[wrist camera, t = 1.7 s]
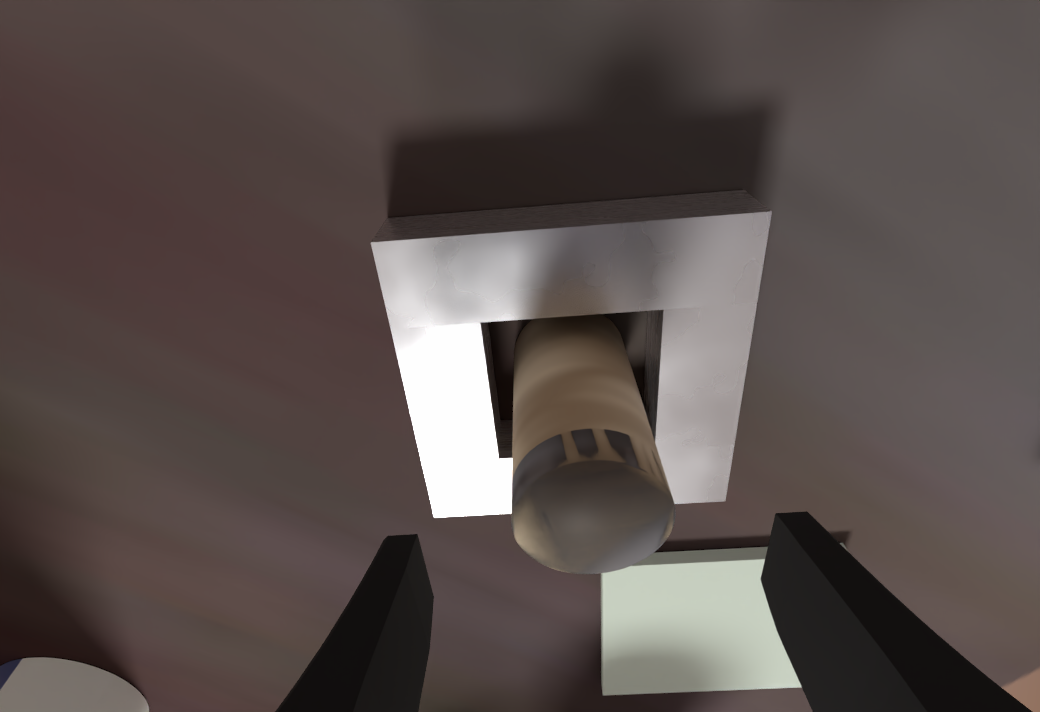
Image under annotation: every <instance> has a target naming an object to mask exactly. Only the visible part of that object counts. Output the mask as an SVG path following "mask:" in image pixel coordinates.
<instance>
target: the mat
mask: <svg viewBox="0 0 1040 712" xmlns="http://www.w3.org/2000/svg"><path fill="white" fill-rule="evenodd" d="M840 544H841V545H842V546H843V547H844V548H845V549H846V547H845V545H844V544H843V543H840ZM767 549H768V547H753V548H733V549H714V550H695V551H676V552H657V553H653V554H651V555H650V556H649V557H647V558H645V559H644V560H642V561H640V562H638V563H636V564H634V565H632V566H629V567H626V568H624V569H620V570H616V571H612V572H607V573H601V685H602V693H603V695H627V694H651V693H675V692H700V691H724V690H748V689H772V688H796V687H802V686H801V684H800V682H799V680H798V677H797V675H796V673H795V671H794V669H793V666H792V664H791V662H790V660H789V657H788V655H787V653H786V651H785V648H784V646H783V644H782V642H781V639H780V637H779V635H778V632H777V630H776V627H775V624H774V621H773V618H772V615H771V612H770V609H769V606H768V602H767V599H766V596H765V593H764V589H763V586H762V583H761V580H760V579H761V575H762V570H763V566H764V562H765V557H766V553H767ZM846 550H847V549H846ZM847 551H848V550H847Z"/></svg>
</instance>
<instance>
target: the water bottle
mask: <svg viewBox="0 0 1040 712" xmlns="http://www.w3.org/2000/svg"><path fill="white" fill-rule="evenodd" d="M0 712H149V706H148V703H147V701H146V699H145V698H144V696H143V695H142V694H141V693H140V692H139V691H138V690H137V689H136V688H135V687H133V686H132V685H131V684H129V683H128V682H126V681H125V680H123V679H122V678H120V677H118V676H116V675H114V674H112V673H110V672H107V671H105V670H102V669H100V668H97V667H94V666H91V665H88V664H84V663H80V662H76V661H71V660H65V659H58V658H46V657H33V658H23V659H17V660H13V661H10V662H7V663H5V664H3V665H1V666H0Z"/></svg>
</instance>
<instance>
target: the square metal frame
mask: <svg viewBox="0 0 1040 712" xmlns="http://www.w3.org/2000/svg"><path fill="white" fill-rule="evenodd" d="M771 213H772V211H771V210H769V209H768V208H767V207H765V206H764V205H763V204H762V203H760V202H759V201H758V200H756V199H755V198H754V197H753V196H751V195H750V194H749V193H747V192H746V191H745V190H734V191H721V192H709V193H696V194H683V195H671V196H658V197H646V198H633V199H620V200H608V201H595V202H583V203H570V204H557V205H545V206H532V207H520V208H507V209H494V210H482V211H469V212H457V213H444V214H431V215H419V216H406V217H394V218H387V219H386V220H385V222H384V223H383V225H382V226H381V228H380V229H379V231H378V232H377V234H376V235H375V237H374V238H373V240H372V241H371V246H372V250H373V254H374V259H375V263H376V267H377V272H378V276H379V280H380V285H381V289H382V293H383V298H384V302H385V306H386V311H387V315H388V319H389V324H390V328H391V332H392V337H393V341H394V345H395V350H396V354H397V358H398V362H399V367H400V371H401V375H402V380H403V384H404V388H405V393H406V397H407V401H408V406H409V410H410V414H411V419H412V423H413V427H414V432H415V436H416V440H417V445H418V449H419V453H420V458H421V462H422V466H423V471H424V475H425V479H426V484H427V488H428V492H429V497H430V501H431V505H432V510H433V514H434V517H450V516H468V515H486V514H504V513H511V498H512V442H513V420H500V412H499V404H498V396H497V388H496V380H495V372H494V364H493V356H492V348H491V340H490V332H489V324H488V322H495V321H509V320H523V319H537V318H552V317H566V316H580V315H594V314H608V313H622V312H636V311H647V333H646V355H645V377H644V399H643V406H644V409H645V412H646V415H647V418H648V422H649V425H650V428H651V431H652V434H653V437H654V441H655V444H656V447H657V450H658V453H659V456H660V459H661V463H662V466H663V469H664V472H665V475H666V478H667V482H668V485H669V488H670V491H671V494H672V497H673V500H674V504H683V503H701V502H719V501H725V500H726V493H727V487H728V481H729V475H730V469H731V462H732V456H733V450H734V444H735V437H736V431H737V425H738V419H739V413H740V406H741V400H742V394H743V388H744V381H745V375H746V369H747V363H748V357H749V350H750V344H751V338H752V332H753V325H754V319H755V313H756V307H757V301H758V294H759V288H760V282H761V276H762V269H763V263H764V257H765V251H766V245H767V238H768V232H769V226H770V220H771Z"/></svg>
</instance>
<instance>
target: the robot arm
mask: <svg viewBox="0 0 1040 712" xmlns="http://www.w3.org/2000/svg"><path fill="white" fill-rule="evenodd" d="M760 580H761V583H762V586H763V589H764V593H765V596H766V599H767V602H768V606H769V609H770V612H771V615H772V618H773V621H774V624H775V627H776V630H777V632H778V635H779V637H780V639H781V642H782V644H783V646H784V648H785V651H786V653H787V655H788V657H789V660H790V662H791V664H792V666H793V669H794V671H795V673H796V675H797V677H798V680H799V682H800V684H801V686H802V688H803V691H804V693H805V695H806V697H807V699H808V702H809V704H810V706H811V708H812V710H813V712H1032V711H1031V710H1029V709H1028V708H1027V707H1026V706H1024V705H1023V704H1022V703H1020V702H1019V701H1018V700H1017V699H1015V698H1014V697H1013V696H1011V695H1010V694H1009V693H1007V692H1006V691H1005V690H1004V689H1002V688H1001V687H1000V686H998V685H997V684H996V683H995V682H993V681H992V680H991V679H990V678H988V677H987V676H986V675H985V674H984V673H982V672H981V671H980V670H979V669H977V668H976V667H975V666H974V665H973V664H971V663H970V662H969V661H968V660H967V659H965V658H964V657H963V656H962V655H961V654H960V653H958V652H957V651H956V650H955V649H954V648H952V647H951V646H950V645H949V644H948V643H947V642H945V641H944V640H943V639H942V638H941V637H940V636H938V635H937V634H936V633H935V632H934V631H933V630H932V629H930V628H929V627H928V626H927V625H926V624H925V623H924V622H923V621H921V620H920V619H919V618H918V617H917V616H916V615H915V614H914V613H913V612H912V611H910V610H909V609H908V608H907V607H906V606H905V605H904V604H903V603H902V602H901V601H900V600H898V599H897V598H896V597H895V596H894V595H893V594H892V593H891V592H890V591H889V590H888V589H886V588H885V587H884V586H883V585H882V584H881V583H880V582H879V581H878V580H877V579H876V578H875V577H874V576H873V575H872V574H871V573H870V572H869V571H868V570H866V569H865V568H864V567H863V566H862V565H861V564H860V563H859V562H858V561H857V560H856V559H855V558H854V557H853V556H852V555H851V554H850V553H849V552H848V551H847V550H846V549H845V548H844V547H843V546H842V545H841V544H840V543H839V542H838V541H837V540H836V539H835V538H834V537H833V536H832V535H831V534H830V533H829V532H828V531H827V530H826V529H825V528H824V527H822V526H821V525H820V524H819V523H818V522H817V521H816V520H815V519H814V518H813V517H812V516H811V515H810V514H809V513H808V512H792V513H776V514H775V518H774V523H773V527H772V531H771V536H770V540H769V544H768V549H767V553H766V557H765V562H764V566H763V570H762V575H761V579H760ZM433 599H434V596H433V592H432V588H431V585H430V581H429V577H428V573H427V569H426V565H425V562H424V558H423V554H422V550H421V546H420V542H419V539H418V535H417V534H413V535H396V536H387V537H386V538H385V539H384V540H383V542H382V544H381V546H380V548H379V550H378V552H377V554H376V556H375V557H374V559H373V561H372V563H371V565H370V567H369V568H368V570H367V572H366V574H365V576H364V577H363V579H362V581H361V583H360V584H359V586H358V588H357V589H356V591H355V593H354V595H353V596H352V598H351V600H350V601H349V603H348V605H347V606H346V608H345V609H344V611H343V613H342V614H341V616H340V617H339V619H338V621H337V622H336V624H335V626H334V627H333V629H332V630H331V632H330V634H329V635H328V637H327V638H326V640H325V641H324V643H323V644H322V646H321V648H320V649H319V650H318V652H317V653H316V655H315V656H314V658H313V659H312V661H311V662H310V664H309V665H308V667H307V668H306V669H305V671H304V672H303V674H302V675H301V677H300V678H299V680H298V681H297V683H296V684H295V685H294V687H293V688H292V690H291V691H290V693H289V694H288V695H287V697H286V698H285V699H284V701H283V702H282V703H281V705H280V706H279V708H278V709H277V710H276V712H418V709H419V703H420V698H421V693H422V687H423V682H424V677H425V671H426V666H427V660H428V655H429V649H430V637H431V626H432V613H433Z"/></svg>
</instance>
